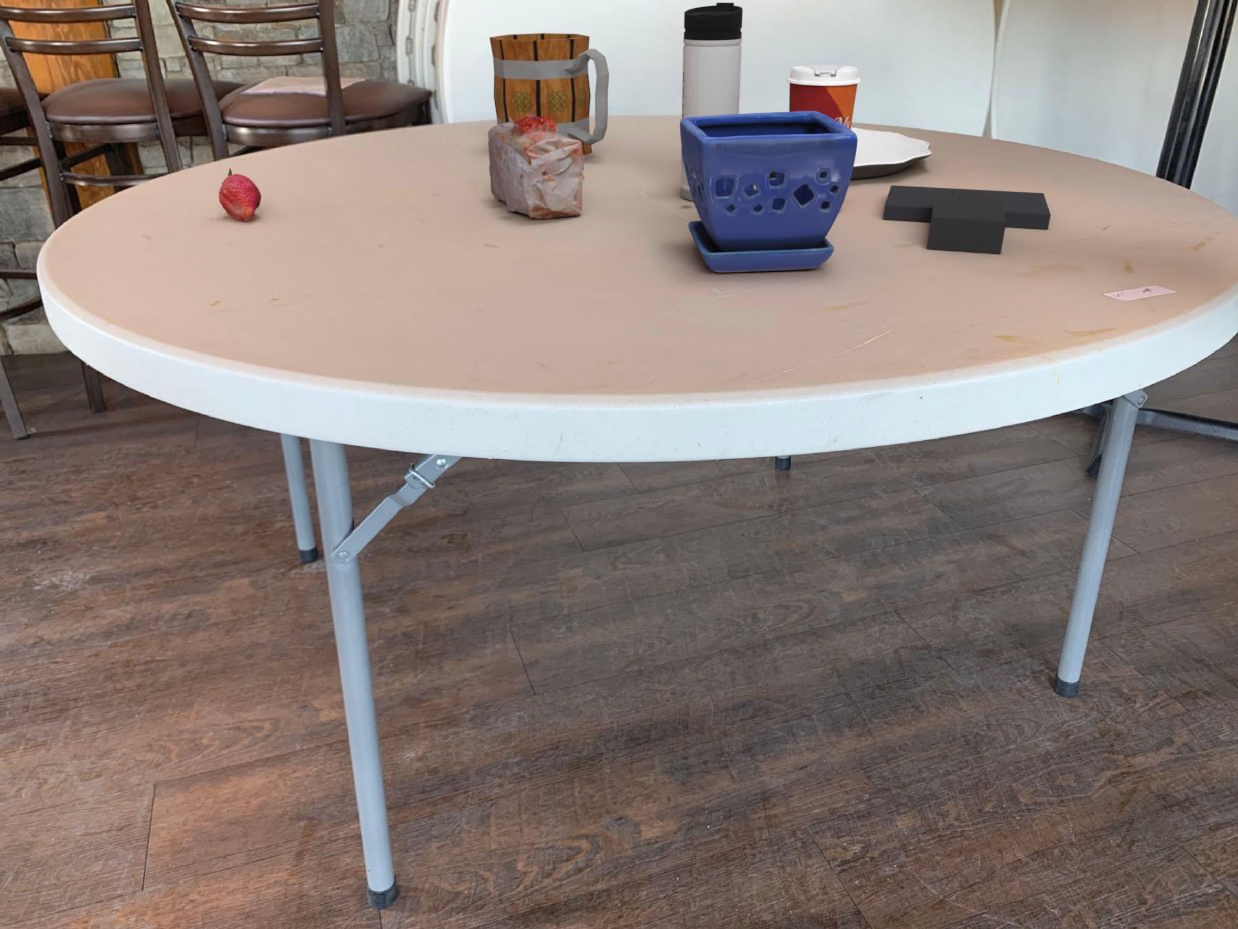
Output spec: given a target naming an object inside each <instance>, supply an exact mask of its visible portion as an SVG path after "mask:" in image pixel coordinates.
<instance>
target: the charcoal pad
mask: <svg viewBox="0 0 1238 929" xmlns="http://www.w3.org/2000/svg"><path fill="white" fill-rule="evenodd" d="M953 189H955V187H933V186H914V185H913V186H912V185H895V184H893V185H890V187H889V190H888V194H887V197H886V201H885V204H884V211H883V218H882V219H883V220H887V221H904V222H917V223H918V222H919V223H921V222H922V223H930V222H931V215H932V208H933V201H934V194H945V195H952V192H953ZM959 189H960V190H974V189H973V188H972V189H971V188H959ZM977 190H978V191H984V197H1000V198H1003V203H1004V210H1005V217H1006V226H1005V228H1016V229H1017V228H1019V229H1034V230H1049V226H1050V221H1051V216H1052V214H1051V211H1050V208H1049V205H1048V202H1047V199H1046V195H1045V193H1044V192H1031V191H1030V192H1027V191H1012V190H1009V191H1008V190H993V189H992V190H988V189H977Z"/></svg>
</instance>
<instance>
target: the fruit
mask: <svg viewBox="0 0 1238 929" xmlns="http://www.w3.org/2000/svg"><path fill="white" fill-rule="evenodd" d="M218 199H219V201H218V202H219V203H220V205H221V206H222V208H223V209H224V211H225V213H226V214H228V216H230V217H231V218H233V219H235V220H238V221H240V222H245V221H247V222H248V221H250V220H251V219H253V218H254V216H255V212H256V210H257V209H258V208H259V206H260V205H261V202H262V201H261V200H262V193H261V191H260V189H259V188H258V186H257V185H256V184H255V182H254V181H253V180H252V179H250V177H248V176H246V175H243V174H239V173H234V174H233V172H232V168H231V167H230V168H229V169H228V172H227V176H226V177H225V179H223V181H222V182H221V186H220V187H219V190H218Z"/></svg>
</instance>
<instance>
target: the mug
mask: <svg viewBox="0 0 1238 929" xmlns="http://www.w3.org/2000/svg"><path fill="white" fill-rule="evenodd" d="M590 38H591V37H590V35H585V34H580V33H560V32H559V33H557V32H556V33H554V32H553V33H551V32H539V33H538V32H537V33H535V32H534V33H513V34H502V35H496V36H490V37H489V43H490V49H491V53H492V62H493V64H492V65H493V101H494V107H495V115H496V126H497V125H500V124H504V123H508V122H511V121H510V119H509V117H510V118H511V119H512V121H513V122H514V121H518V120H519V119H522V118H524V117H526V116H528V115H529V114H532V113H533V114H534V116H535V117H540V118H543V117H544V116H545V117H551V118H552V121H553V123H556V124H557V129H558V130H559V131H558V134H560V135H563V136H565V137H568V138H571V139H574V140H579V141H581V143H582V153H583V156H586V155H588V154H590V153H592V152H593V150H592V146H593V145H594V144H596V143H599V142H601V141H602V140H604V139H605V135H606V132H607V129H608V120H609V118H608V117H609V85H610V84H609V82H610V72H609V67H608V62H607V58H606V55H604V54H603V53H601V51H599V50H597V49H596V48H590ZM590 60H592V61H593V63H594V68H595V75H596V81H595V90H594V92H595V94H594V114H595V115H594V129H593V133H592V134H591V133H590V110H591V99H592V98H591V97H592V94H591V87H590V77H589V62H590Z"/></svg>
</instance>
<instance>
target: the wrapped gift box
mask: <svg viewBox="0 0 1238 929" xmlns="http://www.w3.org/2000/svg"><path fill="white" fill-rule="evenodd" d="M509 119H510V121H511V122H508V123H504V124H500V125H497V124H496V125H495V126H492V127H491V128H490V129H488V132H487V134H488V135H487V138H488V141H487V146H488V159H489V160H488V161H489V166H488V171H489V177H490V178H489V180H490V192H491V194H492V196H493V198H494V199H496V200H500V201H502V202H504V203H505V204H506V210H507V212H512V213H520V214H522V215H526V216H528V217H529V218H531V219H536V220H547V219H559V218H569V217H573V216H575V217H576V216H580V215H582V213H581V212H582V210H583V182H584V181H583V180H585V179H586V178H585V174H584V172H583V171H584V169H585V166H584V155H583V153H582V143H581V141H579V140H574V139H571V138H568V137H565V136H563V135H560V134H558V131H559V130H558V129H557V124H556V123H553V121H552V118H551V117H545V116H544V117H543V118H540V117H535V116H534V114H533V113H532V114H529V115H528V116H526V117H524V118H522V119H519V120H518V121H514V122H513V121H512V119H511V118H510V117H509Z"/></svg>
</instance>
